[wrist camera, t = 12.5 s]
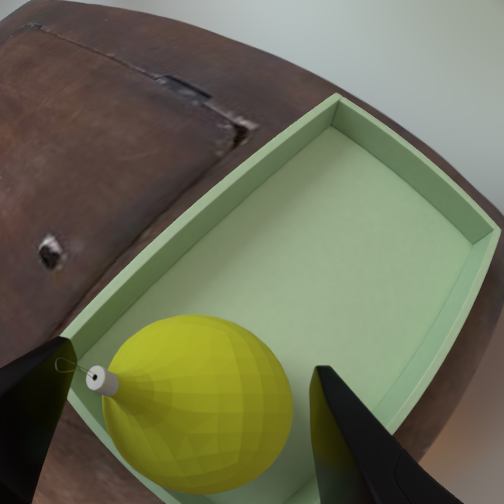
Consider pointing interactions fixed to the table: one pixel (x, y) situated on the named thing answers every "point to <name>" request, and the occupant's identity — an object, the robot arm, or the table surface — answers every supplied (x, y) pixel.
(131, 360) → the ornament
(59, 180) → the table surface
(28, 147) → the table surface
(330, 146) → the pale green tray
